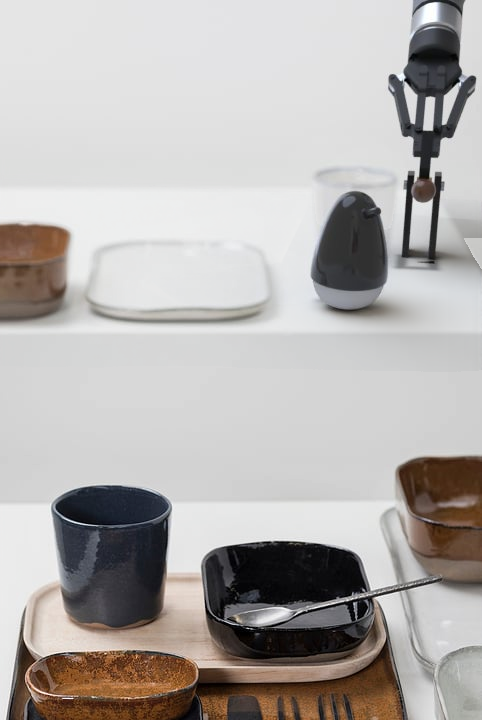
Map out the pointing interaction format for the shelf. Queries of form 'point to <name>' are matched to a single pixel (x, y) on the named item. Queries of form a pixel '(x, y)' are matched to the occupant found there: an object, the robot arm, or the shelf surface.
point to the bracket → (434, 217)
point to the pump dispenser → (351, 253)
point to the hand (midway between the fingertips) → (424, 173)
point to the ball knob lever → (423, 190)
